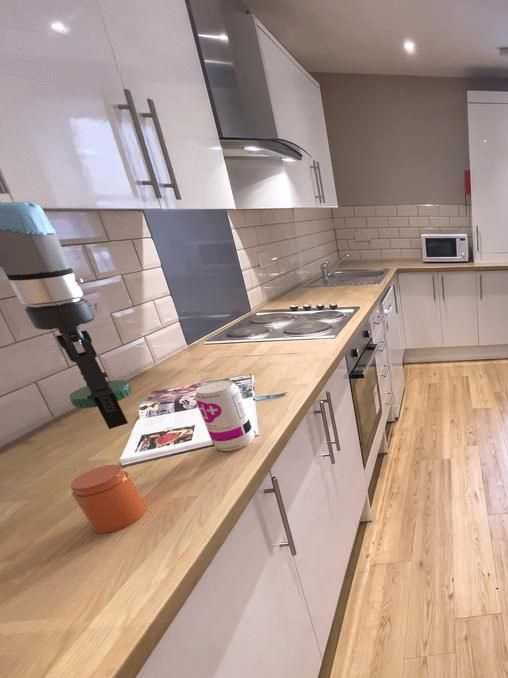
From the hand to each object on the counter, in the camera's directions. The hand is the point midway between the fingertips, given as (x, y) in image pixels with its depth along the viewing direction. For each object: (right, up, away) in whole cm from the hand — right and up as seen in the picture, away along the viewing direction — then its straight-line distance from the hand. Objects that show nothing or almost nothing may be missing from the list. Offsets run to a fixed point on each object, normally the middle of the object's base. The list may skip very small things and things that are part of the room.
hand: (114, 417), depth 79 cm
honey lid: (0, +5, -3) cm, 6 cm away
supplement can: (+11, -8, +18) cm, 23 cm away
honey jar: (+5, -18, -4) cm, 19 cm away
